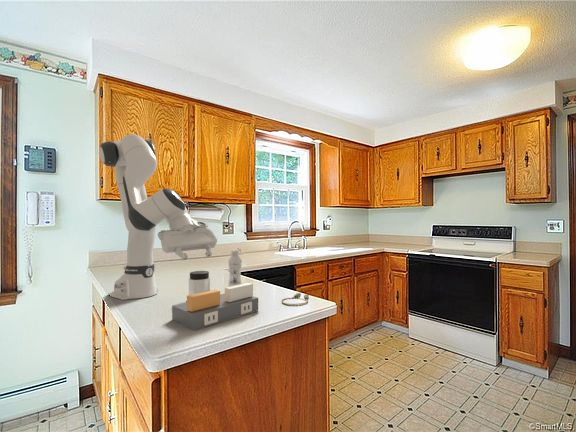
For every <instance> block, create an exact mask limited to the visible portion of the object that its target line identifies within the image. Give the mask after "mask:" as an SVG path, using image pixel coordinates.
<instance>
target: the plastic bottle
mask: <svg viewBox="0 0 576 432" xmlns="http://www.w3.org/2000/svg"><path fill="white" fill-rule="evenodd" d="M230 255H231V256H230V257H229V259H228V268H229V269H228V271H229V278H228V279H229V280H228V286H227V287H231V286H235V285H240V284H243V283H242V277H241V275H242V273H241V272H242V266H243V265H242V263H243V261H242V259H241V257H240V256H239V255H240V250H238V249H237V250H231V252H230Z"/></svg>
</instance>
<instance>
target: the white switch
mask: <svg viewBox="0 0 576 432" xmlns="http://www.w3.org/2000/svg"><path fill="white" fill-rule="evenodd" d="M224 294H225V301H228V302H232V301H236V300H240V299H243V298H247V297H251V296H254V284H253V283H251V282H246V283H245V282H244V283H242V284H240V285H235V286H231V287H228V286H227V287H224Z"/></svg>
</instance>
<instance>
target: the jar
mask: <svg viewBox="0 0 576 432" xmlns="http://www.w3.org/2000/svg"><path fill="white" fill-rule="evenodd" d="M207 291H211V278H210V272H209V270H194V271H190V272H189V278H188V295H192V294H197V293H202V292H207Z"/></svg>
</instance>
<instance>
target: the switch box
mask: <svg viewBox="0 0 576 432" xmlns="http://www.w3.org/2000/svg"><path fill="white" fill-rule="evenodd" d="M258 311H259V297H257V296H254V295H253V296H251V297H247V298H243V299H240V300H236V301H232V302H228V301H225V293H220V305H216V306H212V307H208V308H204V309H200V310H197V311H193V312H191V311H189V310H187V301H186V302H182V303H177V304H173V305H171V315H172V316H171V319H172V320H173V321H174V322H176V323H178V324H180V325H182V326H184V327H186V328H188V329H190V330H192V331H197V330H200V329H204V328H206V327H210V326H214V325H217V324H220V323H224V322H226V321H231V320H232V319H233V320H234V319H237V318H240V317H242V316H246V315H249V314H252V313H256V312H258Z"/></svg>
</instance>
